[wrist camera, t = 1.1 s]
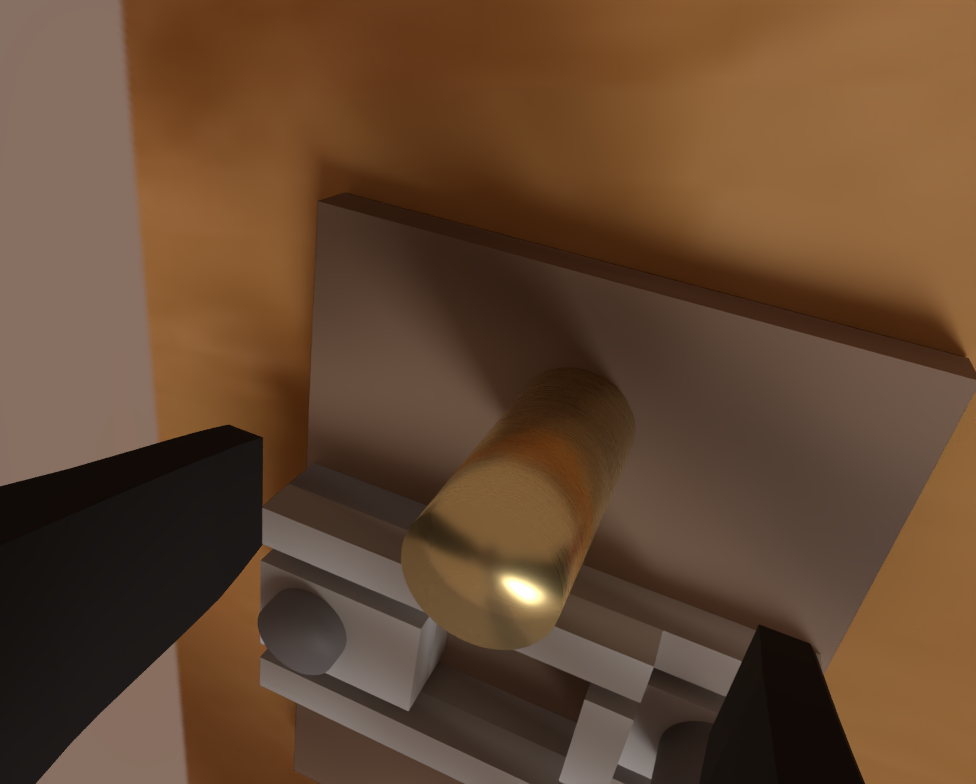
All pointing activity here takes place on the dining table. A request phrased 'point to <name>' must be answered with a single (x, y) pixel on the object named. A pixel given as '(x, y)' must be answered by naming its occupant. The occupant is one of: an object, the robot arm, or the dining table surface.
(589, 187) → the dining table surface
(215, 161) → the dining table surface
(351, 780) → the grey mounting plate
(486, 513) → the brass pin
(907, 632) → the dining table surface
